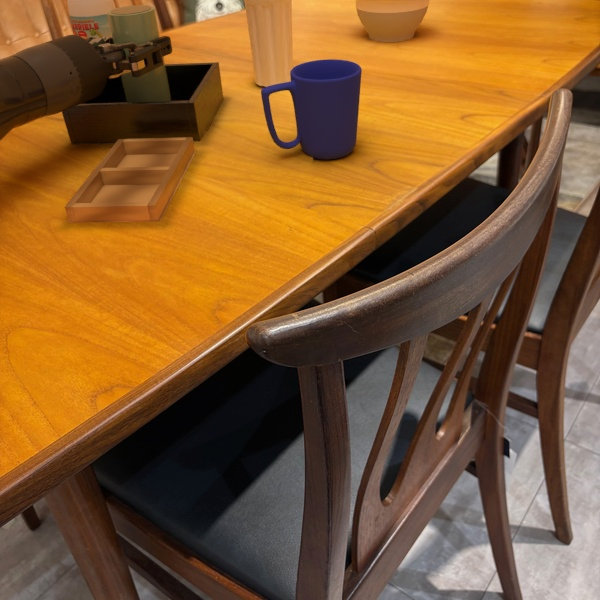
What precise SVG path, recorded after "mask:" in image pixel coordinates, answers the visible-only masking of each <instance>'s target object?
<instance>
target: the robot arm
mask: <svg viewBox="0 0 600 600" xmlns="http://www.w3.org/2000/svg"><path fill="white" fill-rule="evenodd" d="M171 39H172V38H171V37H170V36H168V35H162V36H160V37H159V38H157V39H154V40H151V41H146V42H144V43H139V44H135V43H133V42H131V41H127V42H122V43H117V44H113V40H112V37H111V38H108V37H102V38H100V39H96V38H93V37H89V38H88V39H84V38H82V37H80V36H77V35H74V34H69V35H65V36H62V37H61V36H60V37H58V38H55V39H51V40H49V41H45V42H42V43H39V44H36V45H32V46H29V47H26V48H23V49H21V50H20V51H17V52H16V53H14V54H12V55H10V56H6V57H3V58H0V142H1V141H2V140H3V139H4V138H5V137H7V135H8V134H10V133H11V131H12V130H15V129H17V128H20V127H22V126H25V125H27V124H30V123H32V122H35V121H37V120H39V119H43V118H45V117H50V116H54V115H57V114H60V113H62V111H65V110H67V109H69V108H72V107H74V106H76V105H79V104H81V103H84V102H86V101H88V100H91V99H93V98H95V97H98V96H99V95H100V94H101V93H102V92H103V90H104V88H105V84H106V81H107V79H111V78H116V77H119V76H120V75H121V74H125V73H130V72H131V74H132V77H135V78H138V77H140V76H142V75H144V74H146V73H148V72H150V71H152V70H154V69H156V68H158V67H160V66H162V65H164V64H163V58H162V57H163V56H164V57H166V56H168V55H171V54H172V53H173V46H172V41H171ZM126 48H128V50H129V55H128V59H127V57H126V53H125V51H124V50H123V49H126ZM140 49H141V50H140ZM138 50H139V51H138Z"/></svg>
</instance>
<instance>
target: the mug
mask: <svg viewBox="0 0 600 600" xmlns="http://www.w3.org/2000/svg"><path fill="white" fill-rule="evenodd" d="M362 71H363V70H362V67H361V66H360V64H358V63H357V62H354V61H350V60H345V59H337V58H336V59H331V58H329V59H318V60H317V59H316V60H311V61H306V62H302V63H299V64H297V65H295V66H293V69H292V70H291V72H290V77H291V82H286V83H280V84H275V85H271V86H268V87H265V86H264V87H262V88H261V89H260V96H261V102H262V109H263V113H264V117H265V122H266V126H267V130H268V133H269V135H270V137H271V140H272V141H273V142H274V144H275V145H276V146H277V147H279V148H280V149H283V150H291V149H293V148H296V147H297V146H298V145H299V144H300V147H301V150H302V151H303V153H304V154H305V155H307V156H308V157H312V158H313V159H317V160H336V159H340V158H343V157H346V156H348V155H349V154H351V152H353V151H354V149H355V146H356V144H357V137H358V123H359V111H360V110H359V109H360V97H361V84H362V83H361V82H362ZM283 91H289V93H290V95H291V99H292V104H293V105H292V106H293V110H294V116H295V117H294V118H295V125H296V138H294V139H293V140H290V141H287V142H286V141H282V140H281V138H280V137H279V135H278V134H277V130H276V127H275V124H274V119H273V115H272V109H271V103H270V102H271V101H270V96H271V95H272V94H275V93H278V92H283Z"/></svg>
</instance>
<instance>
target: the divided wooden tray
mask: <svg viewBox="0 0 600 600" xmlns="http://www.w3.org/2000/svg"><path fill="white" fill-rule="evenodd" d="M196 153H197V150H196V149H195V144H194V141H193V137H187V138H186V137H183V138H146V139H118V140H117V142H116V143H113V145H112V147H111V148H110V149H109V150H108V151H107V152H106V154H105V155H104V157H102V159H101V161H100V162H98V164H97V165H96V167H95V168H94V169H93V171H91V173H90V174H89V175H88V177H87V178H86V179H85V181H83V183H81V185H80V186H79V188H78V189H77V191H76V192H75V193H74V194H73V195H72V197H71V198H70V199H69V201H67V203H66V204H65V205H64V210H65V212H66V217H67V219H68V221H67V223H132V222H134V223H135V222H136V223H137V222H161V221H162V219H163V217H164V215H165V213H166V211H167V209H168V207H169V206H170V203H171V202H172V199H173V198H174V195H176V192H177V190H178V188H179V186H180V184H181V182H182V180H183V179H184V177H185V174H186V173H187V170H188V169H189V167H190V165H191V163H192V161H193V159H194V158H195V155H196Z"/></svg>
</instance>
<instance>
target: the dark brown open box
mask: <svg viewBox="0 0 600 600" xmlns="http://www.w3.org/2000/svg"><path fill="white" fill-rule="evenodd" d="M165 66H166V72H167V77H168V83H169V88H170V94H171V101H158V102H126V98H125V93H124V89H123V84H122V80H121V75H120V76H119V77H116V78H111V79H107V81H106V84H105V88H104V90H103V92H102V93H101V94H100V95H99V96H98V97H95V98H93V99H91V100H88V101H86V102H84V103H81V104H79V105H76V106H74V107H72V108H69V109H67V110H65V111H62V112H61V114H62V118H63V121H64V125H65V128H66V131H67V134H68V138H69V141H70V145H106V144H107V145H108V144H111V145H112V144H113V145H114V144H115V143H116V142H117V140H118V139H146V138H183V137H186V138H187V137H193V142H201V140H202V139H203V137H204V135H205V133H206V132H208V131H209V129H210V127H211V126H212V125H211V124H212V123H213V121H214V119H215V117H216V115H217V113H218V111H219V110H220V108H221V105H222V103H223V101H224V100H225V99H224V92H223V85H222V76H221V69H220V63H219V62H218V61H216V62H212V61H211V62H188V63H187V62H186V63H165Z"/></svg>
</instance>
